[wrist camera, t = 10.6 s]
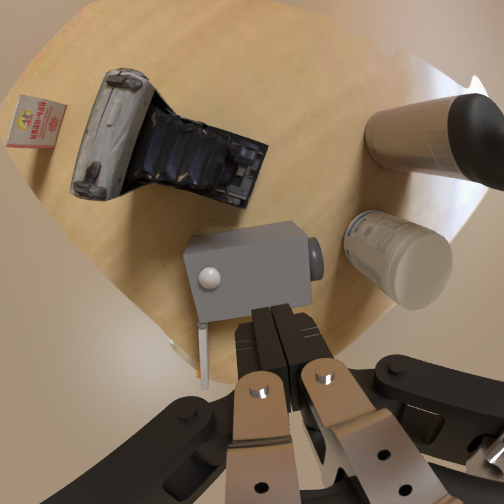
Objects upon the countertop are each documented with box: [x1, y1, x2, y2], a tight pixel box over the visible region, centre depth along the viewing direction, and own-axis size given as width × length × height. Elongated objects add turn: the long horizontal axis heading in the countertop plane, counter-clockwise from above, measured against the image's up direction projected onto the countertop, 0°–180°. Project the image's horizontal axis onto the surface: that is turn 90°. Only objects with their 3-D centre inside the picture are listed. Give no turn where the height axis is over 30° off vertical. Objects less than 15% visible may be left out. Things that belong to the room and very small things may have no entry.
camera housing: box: [183, 221, 324, 323], centre depth 35 cm, size 16×9×8 cm, turn 98°
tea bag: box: [6, 95, 67, 148], centre depth 24 cm, size 4×7×10 cm, turn 161°
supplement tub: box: [344, 210, 452, 310], centre depth 32 cm, size 10×10×15 cm
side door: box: [197, 318, 209, 389], centre depth 38 cm, size 13×2×6 cm, turn 176°
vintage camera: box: [70, 68, 269, 209], centre depth 24 cm, size 10×15×20 cm, turn 71°
